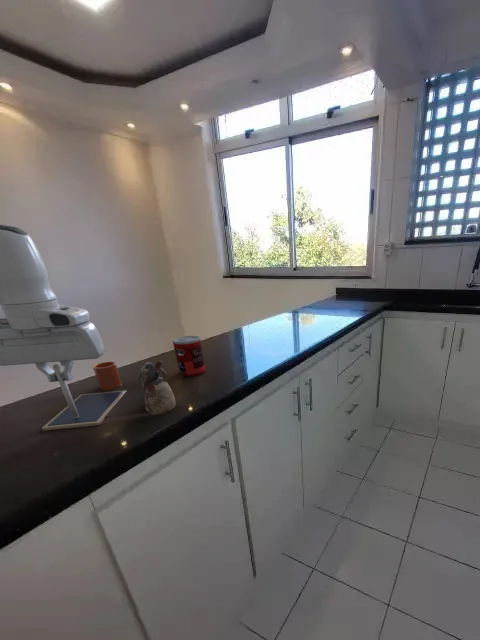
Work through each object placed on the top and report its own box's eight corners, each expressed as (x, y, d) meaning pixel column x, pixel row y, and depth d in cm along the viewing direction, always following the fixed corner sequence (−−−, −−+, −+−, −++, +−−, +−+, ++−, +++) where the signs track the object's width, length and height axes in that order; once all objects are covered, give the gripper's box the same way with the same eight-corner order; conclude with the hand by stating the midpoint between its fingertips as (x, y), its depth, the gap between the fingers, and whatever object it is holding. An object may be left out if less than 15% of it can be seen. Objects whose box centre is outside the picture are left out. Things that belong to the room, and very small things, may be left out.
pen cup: (97, 392, 87) (88, 369, 84) (105, 384, 92) (98, 362, 89) (118, 390, 88) (110, 367, 85) (125, 382, 93) (118, 360, 90)
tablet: (42, 430, 69) (41, 427, 69) (81, 396, 85) (80, 394, 85) (100, 425, 70) (98, 421, 70) (127, 392, 86) (126, 389, 86)
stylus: (72, 419, 71) (50, 365, 66) (75, 417, 72) (54, 363, 67) (78, 419, 72) (56, 365, 66) (80, 416, 73) (60, 363, 67)
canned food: (180, 370, 101) (173, 337, 96) (205, 367, 103) (199, 334, 98) (179, 378, 95) (171, 343, 90) (206, 374, 97) (200, 340, 92)
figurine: (146, 404, 79) (134, 359, 74) (176, 399, 81) (165, 355, 76) (144, 417, 73) (130, 369, 68) (176, 411, 75) (165, 364, 70)
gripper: (-35, 323, 58) (-1, 390, 64) (82, 316, 60) (104, 381, 66) (-10, 316, 63) (19, 379, 69) (96, 310, 66) (115, 371, 72)
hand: (61, 380), depth 68 cm, fingers closed on stylus, 1 cm apart
